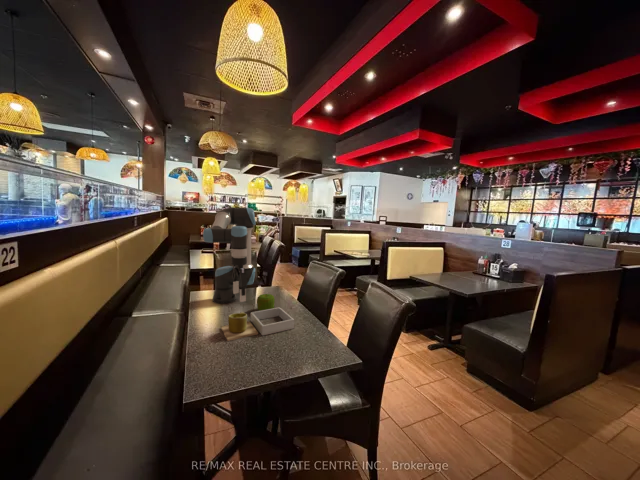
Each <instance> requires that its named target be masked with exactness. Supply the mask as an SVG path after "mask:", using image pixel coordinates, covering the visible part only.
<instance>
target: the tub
mask: <svg viewBox="0 0 640 480" xmlns="http://www.w3.org/2000/svg"><path fill="white" fill-rule="evenodd" d="M275 317H279V318H281V320H282V321H281V320H280V321H278V322H272V323H271V322H270V323H267V324H263V322H261V320H266V319H271V318H275ZM250 322H251V324H252V325H253V326H254V328H255V329H256V330H257V332H258V333H259V334H260V335H261V336H267V335H271V334H275V333H280V332H283V331H288V330H292V329H295V319H294V318H293V317H292V316H291V315H290V314H289V313H288V312H286V311H285V310H284V309H283V308H281V306H280V307H279V306H277V307H274V308H273V309H267V310H262V311H260V310H257V311H256V310H255V311H252V312H250Z"/></svg>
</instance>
